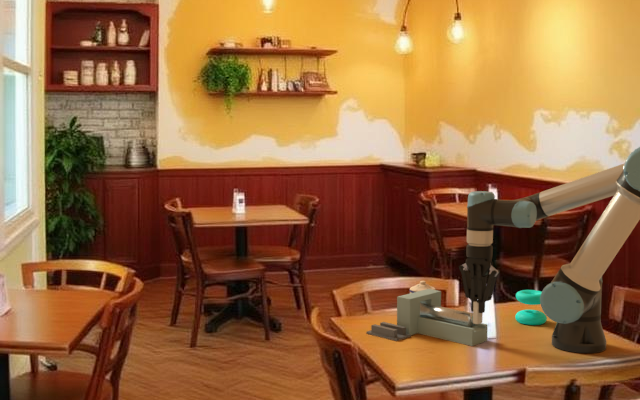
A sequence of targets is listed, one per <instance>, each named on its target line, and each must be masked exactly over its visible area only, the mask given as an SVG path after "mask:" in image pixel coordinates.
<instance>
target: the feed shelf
mask: <svg viewBox="0 0 640 400" xmlns="http://www.w3.org/2000/svg"><path fill="white" fill-rule="evenodd" d="M417 334H420V335H422V336H423V335H425V336H428V337H433V338H436V339H441V340H445V341H449V342H454V343H458V344H462V345H467V346H470V347H474V346H476V345H479V344H482V343H484V341H485V342H488V324H487V323H483V322H482V323H480V324H474V326H473V327H471V328H469V327H465V326H460V325H455V324H451V323H446V322H442V321H437V320H433V319H428V318H423V317H418V333H417Z"/></svg>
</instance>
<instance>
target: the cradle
mask: <svg viewBox="0 0 640 400" xmlns="http://www.w3.org/2000/svg"><path fill="white" fill-rule="evenodd" d="M370 327H371V328H370V329H371V330H367V331H366V332H365V333H366V334H368V335H370V336H374V337H379V338H382V339H386V340H390V341H395V342H397V341H401V340H404V339H408V338H411V337H412V335H410V334H406V327H404V326H399V325H397V324H395V323H389V322H386V321H382V322H380V323H379V324H371V326H370Z"/></svg>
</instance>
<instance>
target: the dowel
mask: <svg viewBox="0 0 640 400" xmlns="http://www.w3.org/2000/svg"><path fill="white" fill-rule="evenodd" d="M420 317H423V318H428V319H433V320H437V321H442V322H446V323H451V324H455V325H460V326H465V327H469V328H471V327H473V326H474V323H473V312H469V311H464V310H458V309H454V308H449V307H444V306H441V307H440V306H435V305H430V304H425V303H420Z"/></svg>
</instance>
